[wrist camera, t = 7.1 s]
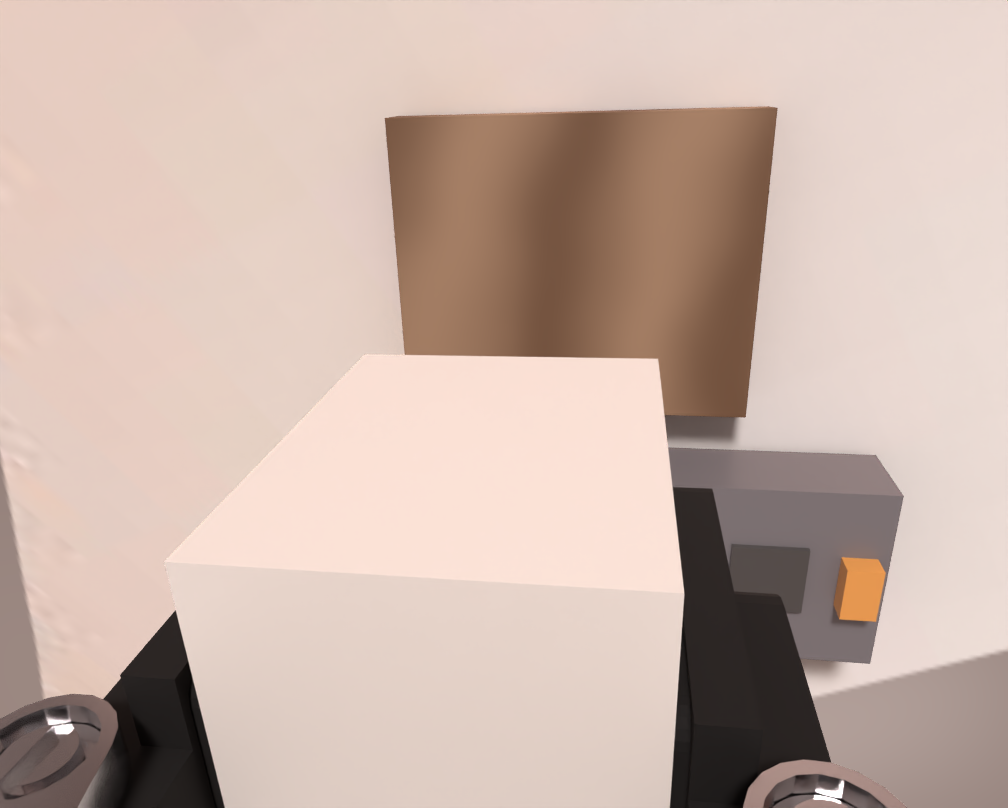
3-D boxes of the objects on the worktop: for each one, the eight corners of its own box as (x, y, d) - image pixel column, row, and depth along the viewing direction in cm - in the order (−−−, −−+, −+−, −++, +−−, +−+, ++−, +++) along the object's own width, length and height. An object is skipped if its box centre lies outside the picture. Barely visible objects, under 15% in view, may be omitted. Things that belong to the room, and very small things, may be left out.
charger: (654, 326, 11) (683, 593, 5) (641, 624, 13) (653, 1052, 7) (394, 323, 12) (165, 561, 6) (421, 609, 14) (271, 995, 8)
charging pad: (768, 106, 24) (777, 107, 22) (739, 400, 28) (745, 417, 26) (397, 115, 25) (384, 118, 24) (419, 392, 29) (409, 406, 28)
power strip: (875, 455, 28) (912, 508, 24) (847, 611, 30) (876, 679, 27) (398, 437, 30) (369, 483, 27) (411, 583, 33) (386, 642, 29)
